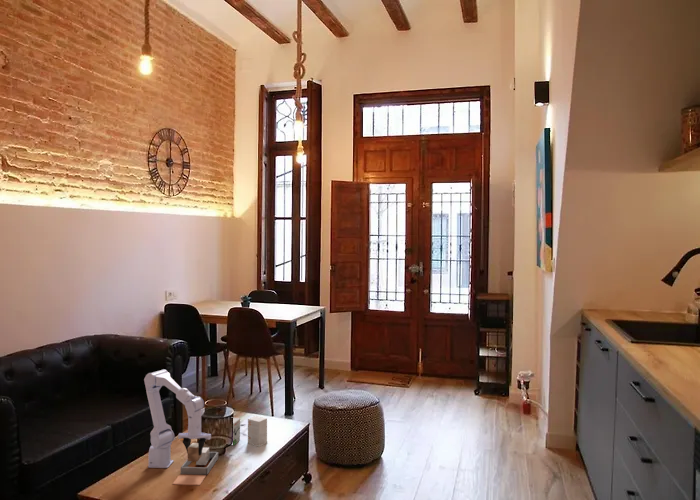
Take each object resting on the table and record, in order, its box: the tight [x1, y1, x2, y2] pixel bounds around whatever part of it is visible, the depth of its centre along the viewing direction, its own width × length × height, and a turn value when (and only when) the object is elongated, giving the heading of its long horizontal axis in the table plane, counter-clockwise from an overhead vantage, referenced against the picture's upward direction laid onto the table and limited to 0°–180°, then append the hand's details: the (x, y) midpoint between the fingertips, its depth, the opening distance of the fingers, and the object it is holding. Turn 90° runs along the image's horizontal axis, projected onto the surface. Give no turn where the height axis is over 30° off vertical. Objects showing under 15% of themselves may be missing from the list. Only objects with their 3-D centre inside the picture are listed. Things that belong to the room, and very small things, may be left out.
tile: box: [172, 473, 207, 486], centre depth 241 cm, size 12×9×1 cm
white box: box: [195, 446, 210, 466], centre depth 260 cm, size 4×6×6 cm
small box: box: [247, 415, 268, 447], centre depth 284 cm, size 8×6×13 cm
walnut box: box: [187, 442, 202, 462], centre depth 247 cm, size 4×6×6 cm
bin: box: [180, 451, 219, 476], centre depth 256 cm, size 12×18×3 cm
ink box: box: [232, 417, 241, 447], centre depth 284 cm, size 9×5×12 cm, turn 168°
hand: (194, 454), depth 247 cm, fingers closed on walnut box, 4 cm apart
